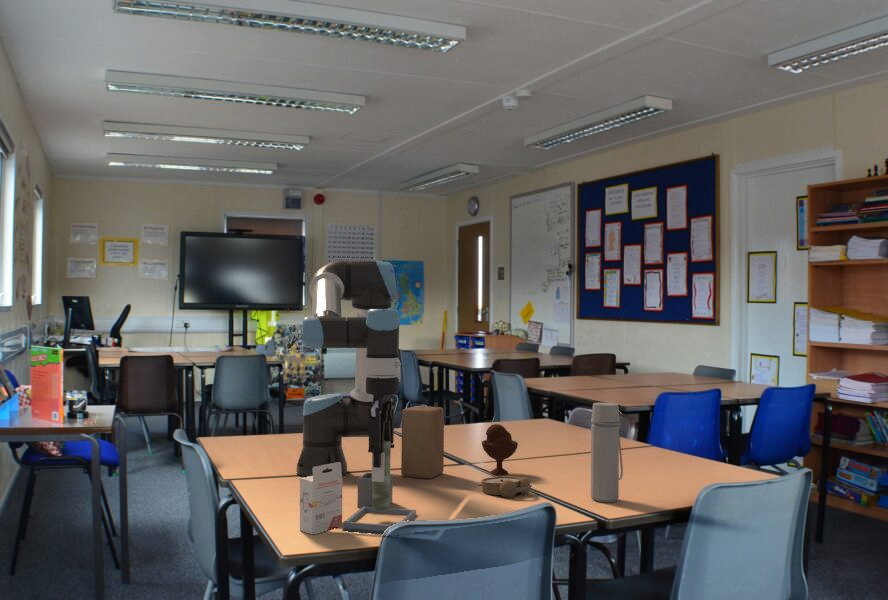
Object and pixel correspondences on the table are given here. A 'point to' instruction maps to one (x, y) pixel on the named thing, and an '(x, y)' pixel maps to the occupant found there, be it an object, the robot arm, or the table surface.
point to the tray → (373, 528)
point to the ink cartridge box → (321, 499)
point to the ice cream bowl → (499, 446)
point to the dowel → (383, 483)
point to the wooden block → (422, 442)
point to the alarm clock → (505, 486)
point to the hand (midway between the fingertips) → (381, 478)
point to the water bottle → (605, 452)
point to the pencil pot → (368, 490)
